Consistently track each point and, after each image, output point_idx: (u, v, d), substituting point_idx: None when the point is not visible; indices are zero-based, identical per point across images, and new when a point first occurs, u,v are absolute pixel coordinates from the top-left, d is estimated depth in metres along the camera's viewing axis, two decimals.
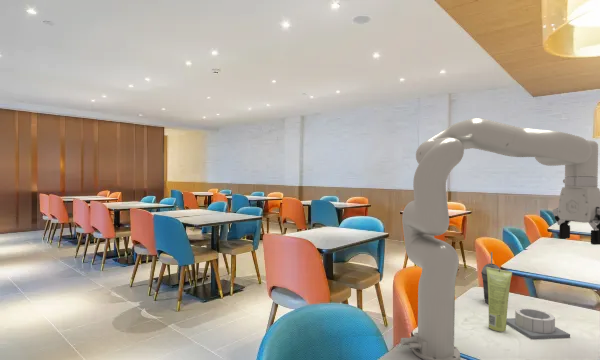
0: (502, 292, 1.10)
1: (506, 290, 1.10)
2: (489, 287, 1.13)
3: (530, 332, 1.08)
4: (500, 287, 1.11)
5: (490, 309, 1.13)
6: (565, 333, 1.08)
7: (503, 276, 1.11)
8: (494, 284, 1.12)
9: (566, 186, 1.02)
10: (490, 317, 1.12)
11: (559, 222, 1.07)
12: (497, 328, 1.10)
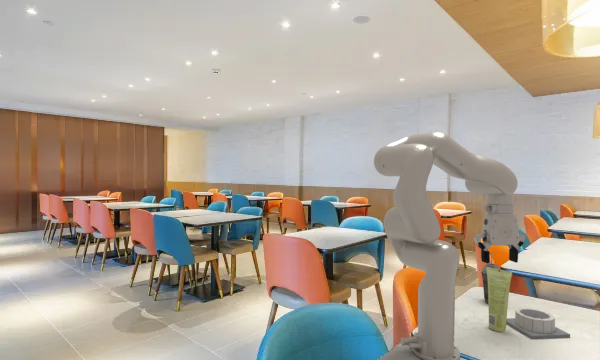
0: (502, 292, 1.10)
1: (506, 290, 1.10)
2: (489, 287, 1.13)
3: (530, 332, 1.08)
4: (500, 287, 1.11)
5: (490, 309, 1.13)
6: (565, 333, 1.08)
7: (503, 276, 1.11)
8: (494, 284, 1.12)
9: (503, 214, 1.09)
10: (490, 317, 1.12)
11: (486, 248, 1.11)
12: (497, 328, 1.10)
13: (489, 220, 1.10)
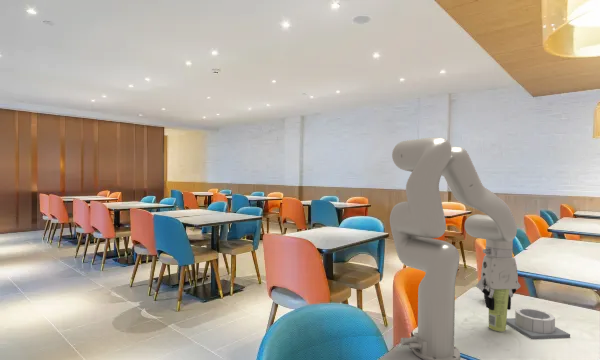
0: (502, 292, 1.10)
1: (506, 290, 1.10)
2: None
3: (530, 332, 1.08)
4: None
5: None
6: (565, 333, 1.08)
7: None
8: None
9: (502, 258, 1.09)
10: (490, 317, 1.12)
11: (490, 295, 1.11)
12: (497, 328, 1.10)
13: (488, 264, 1.10)
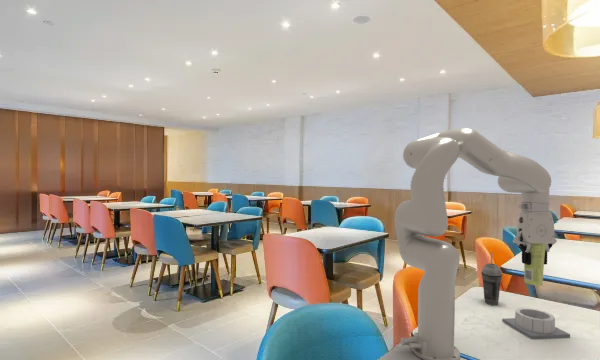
0: (539, 246, 1.11)
1: (542, 244, 1.10)
2: None
3: (530, 332, 1.08)
4: None
5: (526, 264, 1.13)
6: (565, 333, 1.08)
7: None
8: None
9: (539, 212, 1.09)
10: (526, 272, 1.13)
11: (527, 249, 1.11)
12: (534, 282, 1.11)
13: (525, 218, 1.10)
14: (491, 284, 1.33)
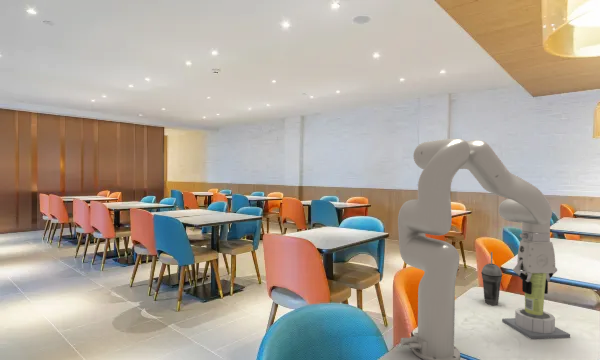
0: (539, 275, 1.11)
1: (543, 274, 1.10)
2: None
3: (530, 332, 1.08)
4: None
5: None
6: (565, 333, 1.08)
7: None
8: None
9: (540, 242, 1.09)
10: (527, 301, 1.13)
11: (528, 279, 1.11)
12: (535, 311, 1.11)
13: (525, 248, 1.10)
14: (491, 284, 1.33)
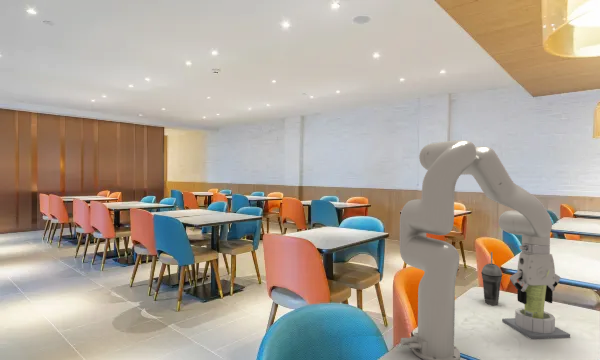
0: (539, 289, 1.11)
1: (543, 287, 1.10)
2: None
3: (530, 332, 1.08)
4: None
5: (526, 306, 1.13)
6: (565, 333, 1.08)
7: None
8: None
9: (540, 254, 1.09)
10: (526, 314, 1.13)
11: (523, 289, 1.11)
12: None
13: (525, 260, 1.11)
14: (491, 284, 1.33)
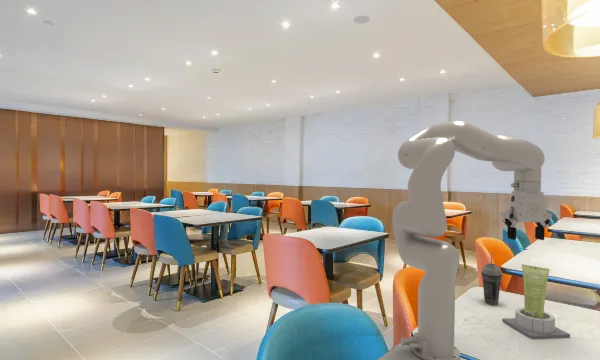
0: (539, 289, 1.11)
1: (543, 287, 1.10)
2: (525, 284, 1.14)
3: (530, 332, 1.08)
4: (537, 284, 1.11)
5: (526, 306, 1.13)
6: (565, 333, 1.08)
7: (540, 273, 1.11)
8: (530, 281, 1.12)
9: (531, 190, 1.10)
10: (526, 314, 1.13)
11: (513, 224, 1.12)
12: None
13: (516, 197, 1.12)
14: (491, 284, 1.33)
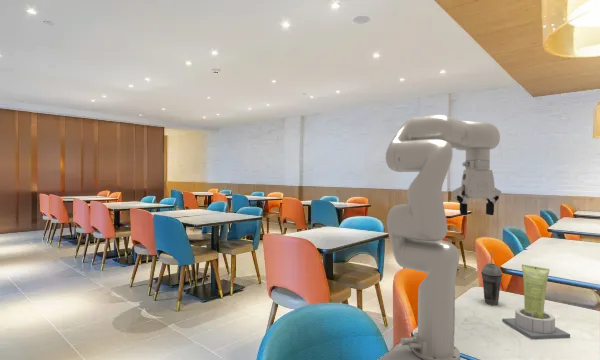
0: (539, 289, 1.11)
1: (543, 287, 1.10)
2: (525, 284, 1.14)
3: (530, 332, 1.08)
4: (537, 284, 1.11)
5: (526, 306, 1.13)
6: (565, 333, 1.08)
7: (540, 273, 1.11)
8: (530, 281, 1.12)
9: (480, 168, 1.17)
10: (526, 314, 1.13)
11: (464, 201, 1.19)
12: None
13: (467, 175, 1.19)
14: (491, 284, 1.33)
